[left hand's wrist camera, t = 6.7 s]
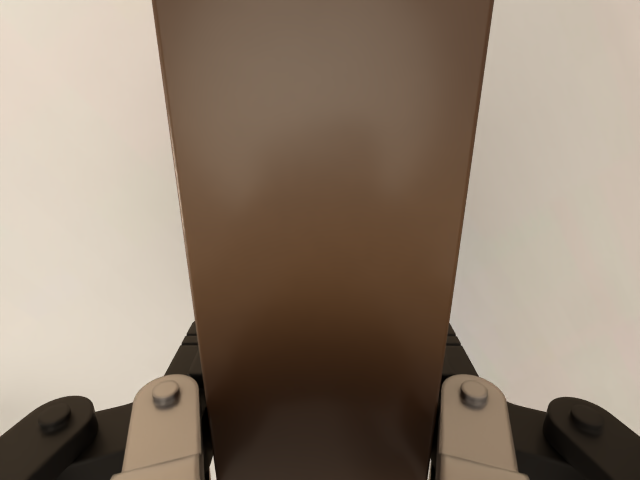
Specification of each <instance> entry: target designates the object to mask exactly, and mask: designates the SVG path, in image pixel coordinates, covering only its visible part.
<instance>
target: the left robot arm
mask: <svg viewBox="0 0 640 480" xmlns="http://www.w3.org/2000/svg"><path fill="white" fill-rule="evenodd" d="M212 457H213V449H212V442H211V434H210V427H209V419H208V412H207V405H206V397H205V390H204V382H203V375H202V368H201V360H200V353H199V346H198V338H197V331H196V323H195V321H194V322H193V323H192V325H191V327H190V329H189V330H188V332H187V336H185V338H184V340H183V342H182V345H180V347H179V349H178V351H177V353H176V355H175V356H174V358H173V360H172V362H171V364H170V366H169V368H168V369H167V371H166V373H165V375H164V376H163V377H160V378H157V379H155V380H153V381H151V382H149V383H148V384H146V385H145V386H144V387H142V388H141V389H140V390H139V392H138V393H137V394H136V396H135V398H134V401H133V402H132V403H130V404H126V405H123V406H119V407H114V408H110V409H106V410H102V411H97V412H95V410H94V406H93V403H92V402H91V401H90V400H89V399H88V398H86V397H82V396H67V397H62V398H58V399H55V400H53V401H50V402H48V403H46V404H44V405H42V406H40V407H38V408H37V409H35V410H34V411H32V412H31V413H30V414H28V415H27V416H26V417H25V418H23V419H22V420H21V421H20V422H18V423H17V424H16V425H14V426H13V427H12V428H11V429H9V430H8V431H7V432H6V433H4V434H3V435H2V436H1V437H0V480H211V475H210V464H211V460H212ZM430 458H431V467H430V474H429V480H640V436H638V435H637V434H636V433H634V432H633V431H632V430H631V429H629V428H628V427H627V426H626V425H624V424H623V423H622V422H620V421H619V420H618V419H617V418H615V417H614V416H613V415H612V414H610V413H609V412H607V411H606V410H605V409H603V408H601V407H599V406H597V405H595V404H593V403H591V402H588V401H586V400H582V399H578V398H573V397H560V398H556V399H554V400H552V401H551V402H550V403H549V406H548V409H547V412H543V411H539V410H535V409H530V408H526V407H522V406H518V405H514V404H512V403H509V402H507V401H506V398H505V396H504V394H503V393H502V392H501V390H500V389H499V388H498V387H496V386H495V385H494V384H492V383H491V382H489V381H487V380H485V379H483V378H480V377H479V376H478V374H477V372H476V370H475V369H474V367H473V365H472V363H471V361H470V360H469V358H468V356H467V354H466V352H465V350H464V349H463V347H462V346H461V343H460V341H459V339H458V338H457V336H456V334H455V332H454V330H453V329H452V327H451V325H450V323H449V327H448V334H447V341H446V348H445V356H444V363H443V370H442V377H441V384H440V391H439V399H438V406H437V413H436V420H435V427H434V434H433V442H432V449H431V456H430Z"/></svg>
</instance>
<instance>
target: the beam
mask: <svg viewBox="0 0 640 480" xmlns="http://www.w3.org/2000/svg"><path fill="white" fill-rule="evenodd" d="M493 4H494V0H152V6H153V13H154V20H155V28H156V35H157V43H158V50H159V57H160V65H161V72H162V79H163V87H164V94H165V102H166V109H167V116H168V124H169V131H170V139H171V146H172V153H173V161H174V168H175V176H176V183H177V190H178V198H179V205H180V213H181V220H182V227H183V235H184V242H185V249H186V257H187V264H188V272H189V279H190V286H191V294H192V301H193V309H194V316H195V323H196V331H197V338H198V346H199V353H200V360H201V368H202V375H203V382H204V390H205V397H206V405H207V412H208V419H209V427H210V434H211V442H212V449H213V456H214V464H215V471H216V479H217V480H427V477H428V470H429V463H430V456H431V449H432V442H433V434H434V427H435V420H436V413H437V406H438V399H439V391H440V384H441V377H442V370H443V363H444V356H445V348H446V341H447V334H448V327H449V320H450V313H451V305H452V298H453V291H454V284H455V277H456V270H457V262H458V255H459V248H460V241H461V234H462V227H463V219H464V212H465V205H466V198H467V191H468V184H469V176H470V169H471V162H472V155H473V148H474V141H475V133H476V126H477V119H478V112H479V105H480V98H481V90H482V83H483V76H484V69H485V62H486V55H487V47H488V40H489V33H490V26H491V19H492V12H493Z"/></svg>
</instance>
